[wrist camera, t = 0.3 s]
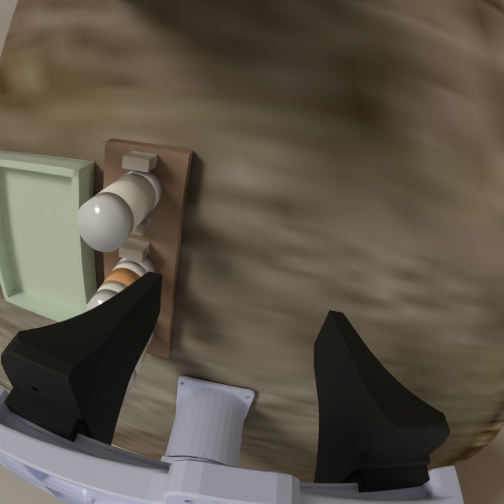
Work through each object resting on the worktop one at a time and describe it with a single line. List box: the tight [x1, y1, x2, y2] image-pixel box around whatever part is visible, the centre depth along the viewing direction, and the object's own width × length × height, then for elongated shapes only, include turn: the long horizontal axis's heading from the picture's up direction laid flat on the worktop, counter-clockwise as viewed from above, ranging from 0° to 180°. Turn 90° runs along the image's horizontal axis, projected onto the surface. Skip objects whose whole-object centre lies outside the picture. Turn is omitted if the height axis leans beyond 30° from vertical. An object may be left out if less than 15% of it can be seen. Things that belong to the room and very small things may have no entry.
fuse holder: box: [103, 139, 193, 362], centre depth 24 cm, size 19×6×2 cm, turn 168°
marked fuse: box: [85, 257, 155, 312], centre depth 21 cm, size 3×3×6 cm
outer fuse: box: [77, 170, 162, 252], centre depth 18 cm, size 3×3×6 cm
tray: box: [0, 150, 97, 322], centre depth 23 cm, size 15×11×2 cm
